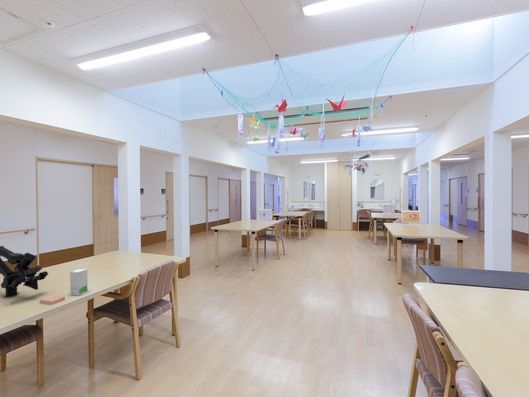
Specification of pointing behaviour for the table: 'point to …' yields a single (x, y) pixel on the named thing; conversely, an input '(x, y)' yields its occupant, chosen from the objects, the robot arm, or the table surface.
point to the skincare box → (78, 282)
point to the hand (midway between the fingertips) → (37, 289)
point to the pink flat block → (52, 299)
